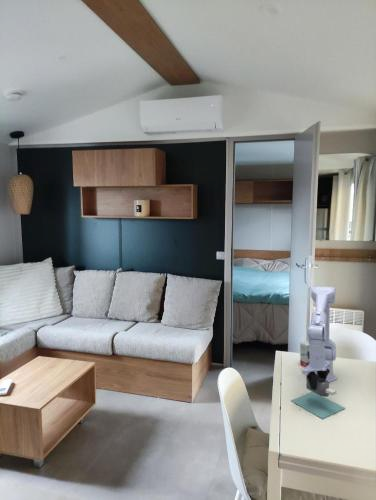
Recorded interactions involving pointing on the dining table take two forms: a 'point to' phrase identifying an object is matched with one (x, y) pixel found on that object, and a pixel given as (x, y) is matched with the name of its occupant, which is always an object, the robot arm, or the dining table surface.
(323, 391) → the cylinder
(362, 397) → the dining table surface
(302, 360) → the ink box
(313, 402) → the charging mat
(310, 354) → the robot arm
